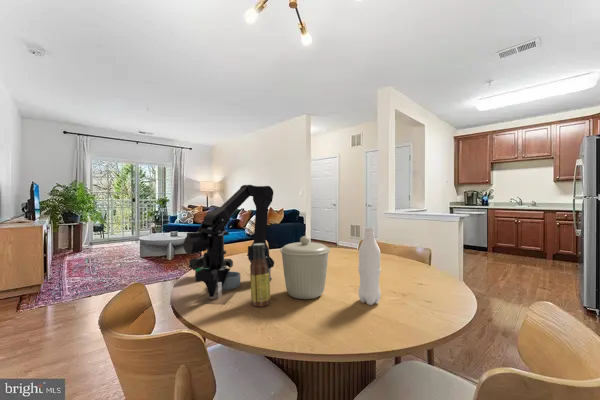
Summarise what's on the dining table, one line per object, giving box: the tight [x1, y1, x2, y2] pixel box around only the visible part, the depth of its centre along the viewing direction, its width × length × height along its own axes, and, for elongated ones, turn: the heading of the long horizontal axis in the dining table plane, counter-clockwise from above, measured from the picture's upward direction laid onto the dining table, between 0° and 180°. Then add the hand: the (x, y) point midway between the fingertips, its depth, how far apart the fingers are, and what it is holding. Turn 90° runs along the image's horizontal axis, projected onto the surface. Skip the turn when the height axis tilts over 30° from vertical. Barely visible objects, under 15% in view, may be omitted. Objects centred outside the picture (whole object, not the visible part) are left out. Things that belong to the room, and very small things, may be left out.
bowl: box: [222, 270, 241, 291], centre depth 107 cm, size 9×9×4 cm
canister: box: [279, 235, 331, 300], centre depth 98 cm, size 18×18×21 cm
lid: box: [193, 282, 237, 305], centre depth 95 cm, size 11×11×6 cm
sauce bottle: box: [249, 243, 271, 308], centre depth 89 cm, size 6×6×20 cm
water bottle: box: [357, 226, 382, 306], centre depth 91 cm, size 7×7×25 cm
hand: (215, 293), depth 95 cm, fingers open, 6 cm apart
